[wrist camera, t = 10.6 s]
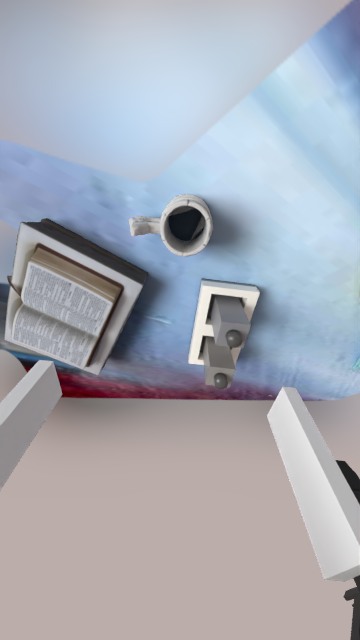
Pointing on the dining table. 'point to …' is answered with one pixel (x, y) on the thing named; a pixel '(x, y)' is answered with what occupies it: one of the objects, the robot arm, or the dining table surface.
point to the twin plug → (217, 364)
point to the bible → (68, 296)
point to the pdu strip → (202, 316)
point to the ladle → (357, 364)
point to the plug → (229, 321)
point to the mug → (161, 226)
